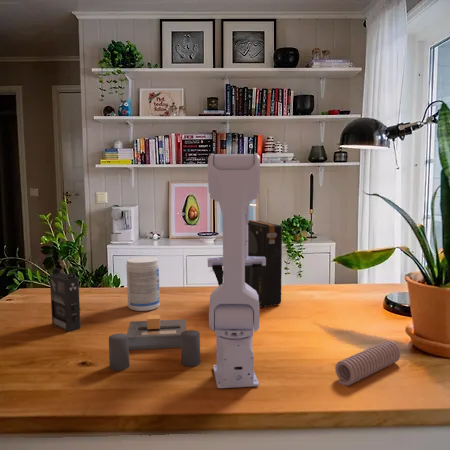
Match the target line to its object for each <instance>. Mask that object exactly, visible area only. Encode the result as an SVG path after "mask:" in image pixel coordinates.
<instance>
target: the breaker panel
mask: <svg viewBox="0 0 450 450" xmlns="http://www.w3.org/2000/svg"><path fill="white" fill-rule="evenodd" d="M128 324H129V326H128V328H127V332H126V334H127V335H128V342H129V351H137V350H140V351H141V350H155V349H156V350H157V349H175V348H176V349H177V348H178V349H179V348H180V349H181V333H182V332H184V331H188V330H187V319H185V318H182V319H160V329H147V320H138V321H135V320H134V321H129V323H128Z"/></svg>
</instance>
